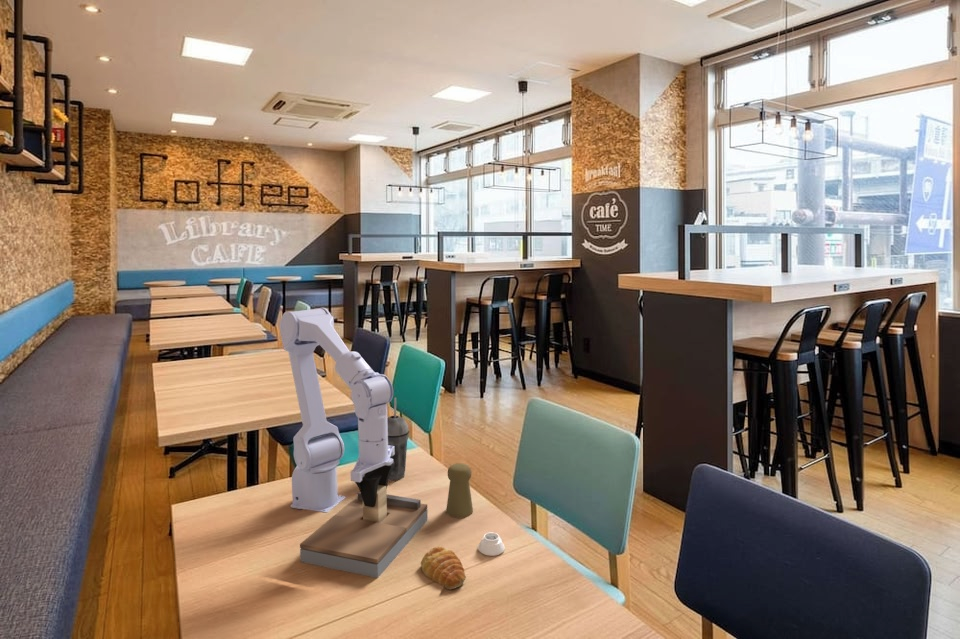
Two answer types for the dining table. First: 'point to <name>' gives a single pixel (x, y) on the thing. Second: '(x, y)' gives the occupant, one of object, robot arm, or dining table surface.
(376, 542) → the lid
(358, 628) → the dining table surface
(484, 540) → the white upturned bowl
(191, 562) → the dining table surface
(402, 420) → the beverage cup
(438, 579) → the pastry
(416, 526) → the shallow grey box
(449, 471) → the olive pawn figure
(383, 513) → the block
